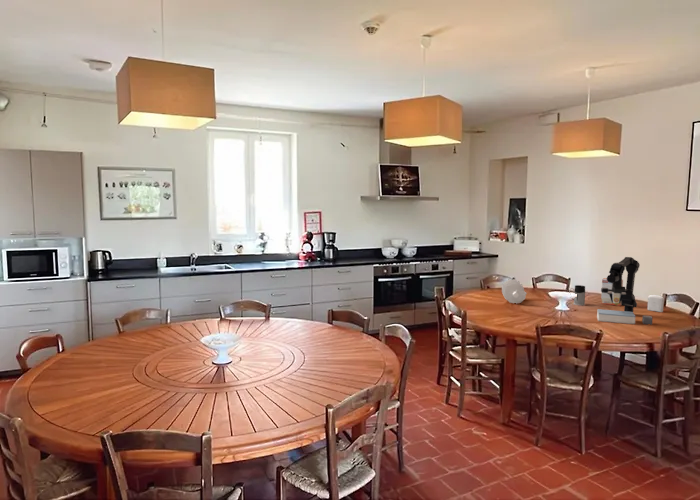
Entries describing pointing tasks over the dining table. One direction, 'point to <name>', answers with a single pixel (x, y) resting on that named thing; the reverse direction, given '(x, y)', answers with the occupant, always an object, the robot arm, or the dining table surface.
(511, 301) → the white rounded lump
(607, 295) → the cracker box
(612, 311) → the box lid
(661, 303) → the photo printer
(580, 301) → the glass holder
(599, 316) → the storage box
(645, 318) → the block
